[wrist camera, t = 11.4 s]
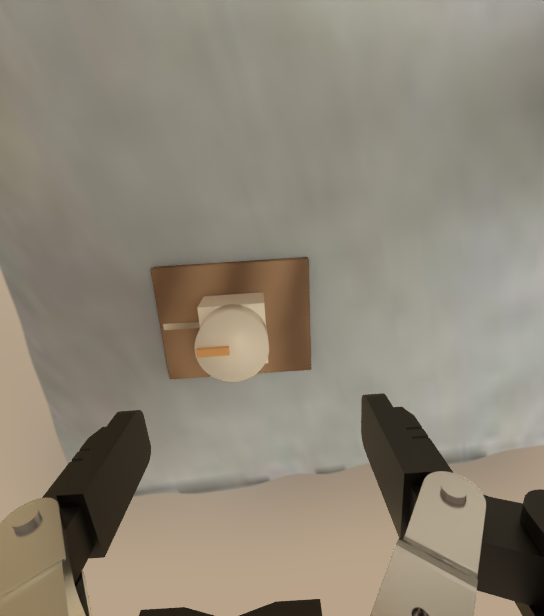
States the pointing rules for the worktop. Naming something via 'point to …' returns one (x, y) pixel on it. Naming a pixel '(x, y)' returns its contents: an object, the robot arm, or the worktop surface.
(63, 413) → the worktop surface
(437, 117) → the worktop surface
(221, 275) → the plate
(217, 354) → the knob
